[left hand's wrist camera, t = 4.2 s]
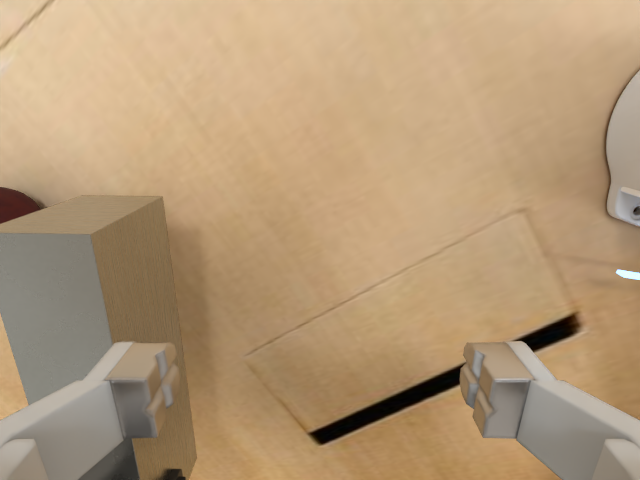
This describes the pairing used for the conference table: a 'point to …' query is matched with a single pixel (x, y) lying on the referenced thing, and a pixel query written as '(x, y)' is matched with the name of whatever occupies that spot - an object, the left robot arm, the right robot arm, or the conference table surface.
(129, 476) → the bar
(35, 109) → the conference table surface
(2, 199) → the dark red plum
